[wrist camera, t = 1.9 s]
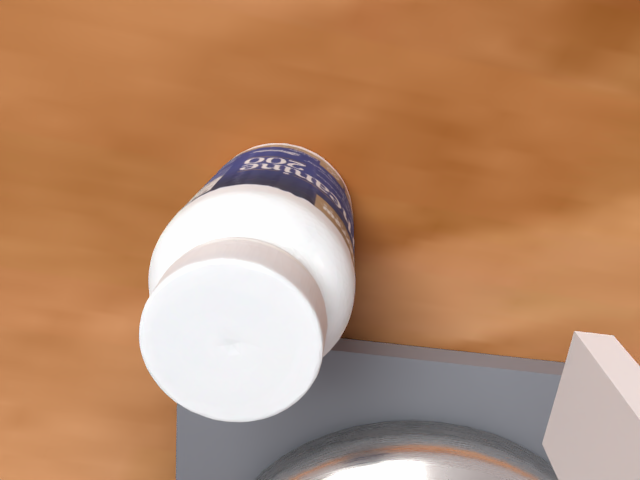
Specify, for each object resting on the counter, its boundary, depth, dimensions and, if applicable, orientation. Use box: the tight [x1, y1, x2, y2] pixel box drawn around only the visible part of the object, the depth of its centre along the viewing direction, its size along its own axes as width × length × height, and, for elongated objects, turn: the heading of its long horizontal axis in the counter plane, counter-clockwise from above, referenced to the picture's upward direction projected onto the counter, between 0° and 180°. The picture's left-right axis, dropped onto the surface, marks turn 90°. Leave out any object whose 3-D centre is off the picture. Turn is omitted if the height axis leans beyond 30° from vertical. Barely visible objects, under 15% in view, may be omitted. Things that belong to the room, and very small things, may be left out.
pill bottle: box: [139, 143, 356, 422], centre depth 17 cm, size 5×5×10 cm
